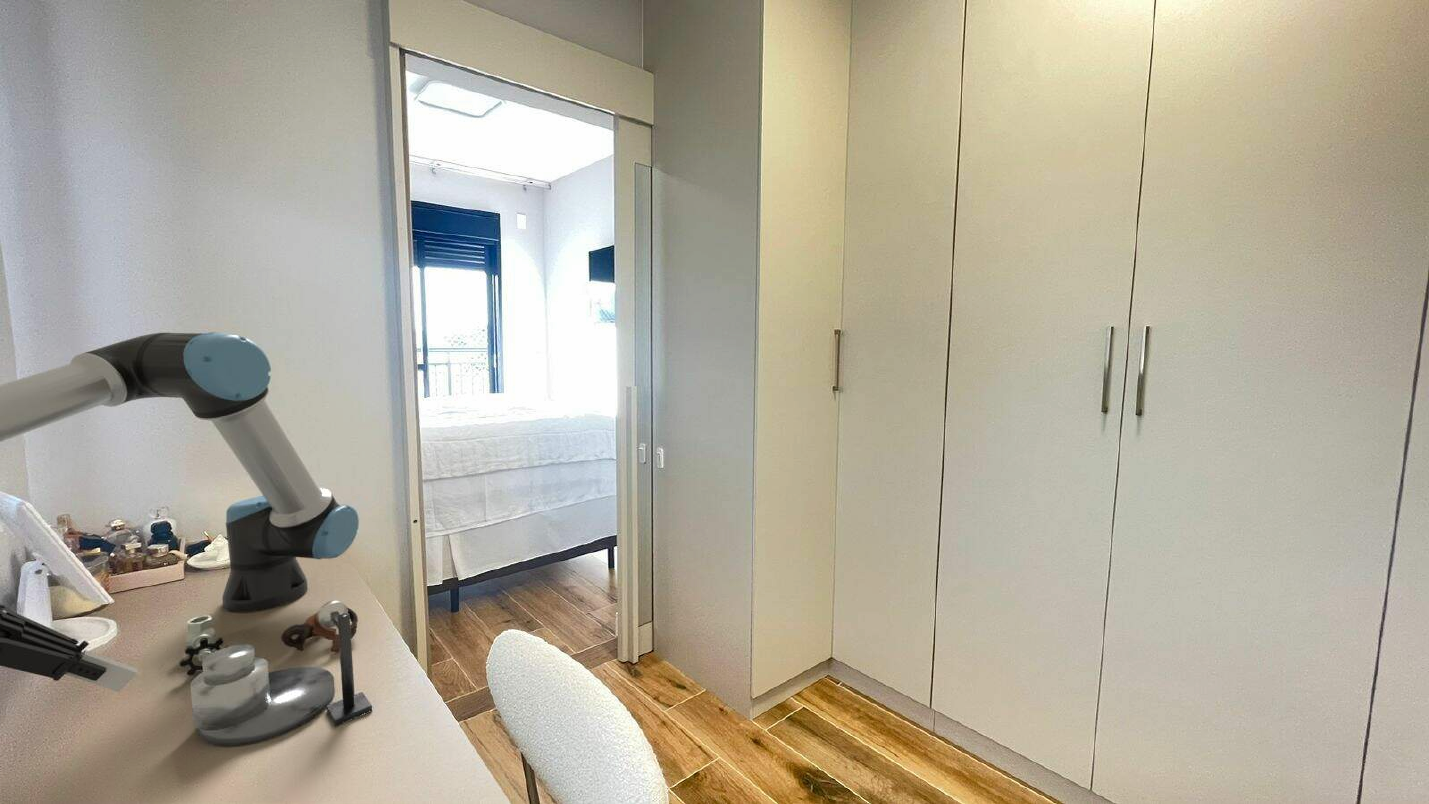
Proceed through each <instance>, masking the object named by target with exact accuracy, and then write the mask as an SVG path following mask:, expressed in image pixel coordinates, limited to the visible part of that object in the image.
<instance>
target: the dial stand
mask: <svg viewBox="0 0 1429 804" xmlns="http://www.w3.org/2000/svg"><path fill="white" fill-rule="evenodd" d="M347 606H348V605H346V604H345V603H344V602H343V601H341V600H338V599H335V600H330V601H327V602H325V603H324V604H323V605H321V607H320V608H319V610H318V611H319V612H318V611H317V612H318V620H319V622H320V623H321V624H322V625H323V626H325V627H331V628H334V627H337V631H338V632H337V633H338V634H339V661H340V662H339V665H340V675H341V676H340V679H341V691H342V693H341V694H342V699H340V700H337V701H335V702H331V703H330V704H329V705H327V707H326V713H327V712H328V713H327V714H328V716H329V718H330V720H331V721H332V722H333V724H334V726H335V727H337V726H340V725H343V724H344V723H343V722H345V723H347V722H349V721H348V720H350V721H352V720H355V719H356V718H355V717H357V718H359V717H361V716H360V715H362V714H364V713H367V712H369V711H371V712H373V705H372V704H371V702H370V701H369V699H368V698H367V697H366V695H365V694H364V692H363V691H361V692H358V693H355V680H354V667H353V666H354V664H353V647H352V646H353V645H352V639H351V629H350V625H351V620H350V614H349V613H348V608H349V607H348V608H347ZM369 713H370V712H369ZM367 714H368V713H367ZM364 715H365V714H364ZM358 716H359V717H358ZM362 716H363V715H362ZM354 718H355V719H354ZM351 719H352V720H351ZM346 721H347V722H346Z"/></svg>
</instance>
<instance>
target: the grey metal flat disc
mask: <svg viewBox="0 0 1429 804" xmlns="http://www.w3.org/2000/svg"><path fill="white" fill-rule="evenodd" d="M268 673H269V686H270V698H271V700H270V703H269V705H268V706H267V707H266V708H265V709H264V710H263V711H262V712H261V713H259V714H258V715H256V716H254V717H253V718H251V719H249V720H247V721H245V722H242V723H240V724H237V725H234V726H231V727H228V728H224V729H219V730H200V729H198V732H199V736H200V739H201V740H202V741H203V742H204V743H206V744H207V745H210V746H214V747H219V748H220V747H222V748H233V747H242V746H248V745H253V744H257V743H261V742H265V741H269V740H272V739H275V738H277V737H280V736H283V735H285V734H287V733H290V732H292V731H294V730H296V729H298V728H300V727H302V726H303V725H306V724H307V723H309V722H310V721H312V720H313V719H315V718H316V717H317V716H319V715H320V714H321V713H323V711H324V710H326V709H327V705H329V703H330V702H331V703H332V702H333V699H334V697H335V693H336V689H335V688H336V687H335V677H334V675H333V674H332V673H331V672H330V671H329V670H327V669H324V668H321V667H316V666H297V667H289V668H283V669H279V670H274V671H270V672H268ZM331 703H330V704H331Z"/></svg>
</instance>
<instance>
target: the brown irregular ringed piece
mask: <svg viewBox="0 0 1429 804" xmlns="http://www.w3.org/2000/svg"><path fill="white" fill-rule="evenodd" d="M347 608H348V613H349V614H350V629H351V640H352V639H353V638H354V637H355V635H356V634H357V628H358V624H357V623H358V621H359V619H358V615H357V614H356V612H355V611H354V610H353V609H351V608H350V607H347ZM318 612H319V610H318V611H317V612H316V613H314V614H312V615H311V616H310V617H308V618H307V619H306V620H305V622H304V623H301V624H298V623H297V624H293V625H290V626H289V627H288V628H286V629H285V630H284V631H283V633H282V634H281V636H280V637H281V638H280V639H281V641H282V643H283V644H284V645H285V646H286V647H289V648H294V649H296V651H299V652H302V651H304V647H305V643H306V641H307V640H308V639H310V638H315V637H321V638H324V639H326V640H328V641H332V645H331V647H330V648H329V651H330V653H339V652H340V650H339V634H337V629H336V628H334V627H325V626H323V625H322V624H321V623H320V622H319V620H318ZM293 636H296V637H295V638H294V637H293Z"/></svg>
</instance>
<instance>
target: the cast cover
mask: <svg viewBox="0 0 1429 804" xmlns="http://www.w3.org/2000/svg"><path fill="white" fill-rule="evenodd" d="M201 662H202V664H201V666H203V672H202V671H201V673H199V674H198V675H196V676H195V677H194V678H193V680H192V681H191V682H190V685H189V686H190V697H191V698H190V699H191V706H192V708H191V709H192V718H193V725H194V727H195V728H196V729H197V730H199V729H200V730H219V729H224V728H228V727H231V726H234V725H237V724H240V723H242V722H245V721H247V720H249V719H251V718H253V717H254V716H256V715H258V714H259V713H261V712H262V711H263V710H264V709H265V708H266V707H267V706H268V705H269V703H270V700H271V698H270V686H269V673H270V672H269V663H268V661H267V660H266V659H264V657H263V658H262V657H256V656H255V648H254V646H253V645H251V644H238V645H237V644H235V645H231V646H227V648H225V647H224V648H221V649H220V650H218V651H217V650H214V652H212V653H211V654H210V655H208V656H207V657H205V658H204V659H203V661H201Z"/></svg>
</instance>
